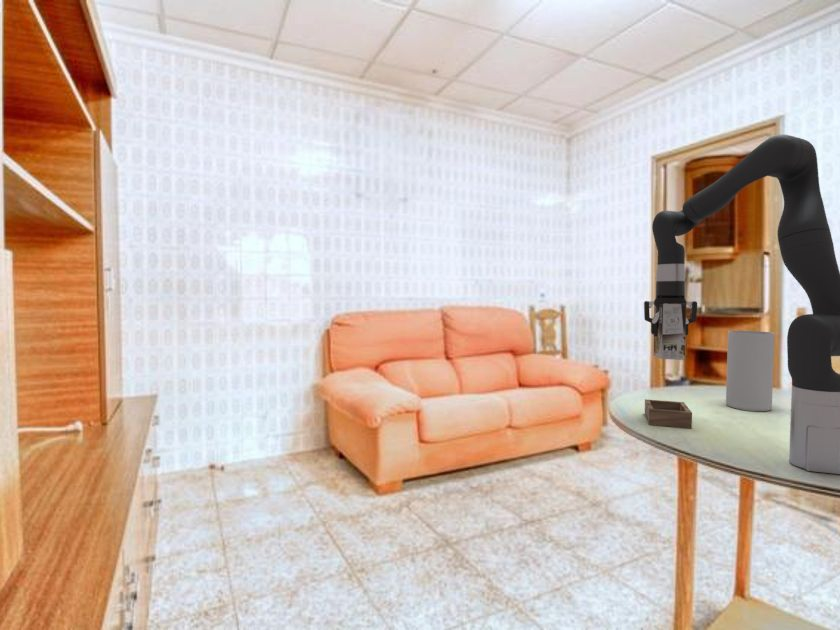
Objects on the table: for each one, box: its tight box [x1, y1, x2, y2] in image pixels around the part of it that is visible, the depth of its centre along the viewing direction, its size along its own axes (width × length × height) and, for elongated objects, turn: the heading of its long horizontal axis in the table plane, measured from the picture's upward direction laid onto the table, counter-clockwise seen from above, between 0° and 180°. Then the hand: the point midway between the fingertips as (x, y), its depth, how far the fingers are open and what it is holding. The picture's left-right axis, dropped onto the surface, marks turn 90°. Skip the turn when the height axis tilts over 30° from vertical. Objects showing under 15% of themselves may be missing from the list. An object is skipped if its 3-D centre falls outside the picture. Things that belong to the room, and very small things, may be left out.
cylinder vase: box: [725, 330, 775, 413], centre depth 157 cm, size 12×12×25 cm
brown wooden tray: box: [644, 398, 693, 430], centre depth 141 cm, size 14×11×4 cm
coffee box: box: [653, 303, 687, 361], centre depth 139 cm, size 9×6×16 cm
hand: (669, 336), depth 139 cm, fingers closed on coffee box, 7 cm apart
